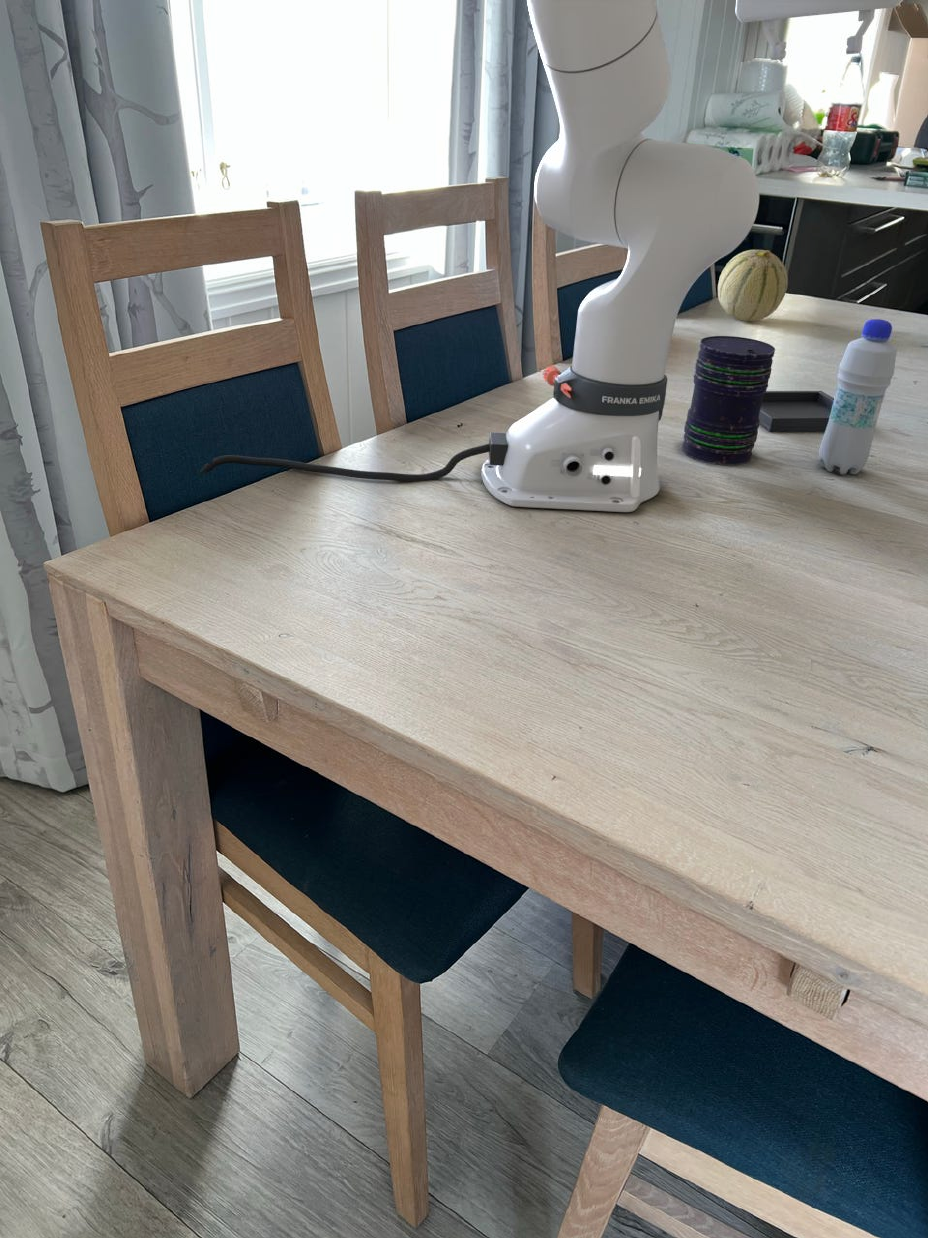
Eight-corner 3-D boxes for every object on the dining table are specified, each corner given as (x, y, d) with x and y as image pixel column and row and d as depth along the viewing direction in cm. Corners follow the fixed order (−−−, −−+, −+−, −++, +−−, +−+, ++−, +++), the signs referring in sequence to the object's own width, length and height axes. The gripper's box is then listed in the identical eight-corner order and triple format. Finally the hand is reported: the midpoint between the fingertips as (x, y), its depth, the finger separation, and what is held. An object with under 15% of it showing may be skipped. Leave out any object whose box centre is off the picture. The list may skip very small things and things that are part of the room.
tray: (769, 431, 141) (772, 418, 140) (730, 403, 152) (733, 390, 151) (863, 430, 144) (866, 417, 143) (818, 403, 155) (821, 390, 154)
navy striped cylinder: (667, 443, 134) (685, 336, 126) (725, 438, 137) (746, 334, 130) (706, 468, 126) (728, 356, 118) (767, 462, 129) (791, 353, 122)
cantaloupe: (738, 309, 217) (751, 240, 209) (792, 323, 207) (809, 251, 200) (697, 316, 209) (710, 244, 201) (753, 330, 199) (768, 255, 192)
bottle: (869, 480, 125) (913, 327, 115) (817, 474, 126) (856, 322, 116) (861, 463, 131) (902, 316, 121) (811, 457, 132) (848, 311, 122)
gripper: (729, -62, 115) (727, 66, 124) (908, -88, 105) (893, 53, 113) (746, -67, 119) (742, 57, 128) (920, -93, 109) (904, 44, 117)
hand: (815, 56), depth 120 cm, fingers open, 8 cm apart
